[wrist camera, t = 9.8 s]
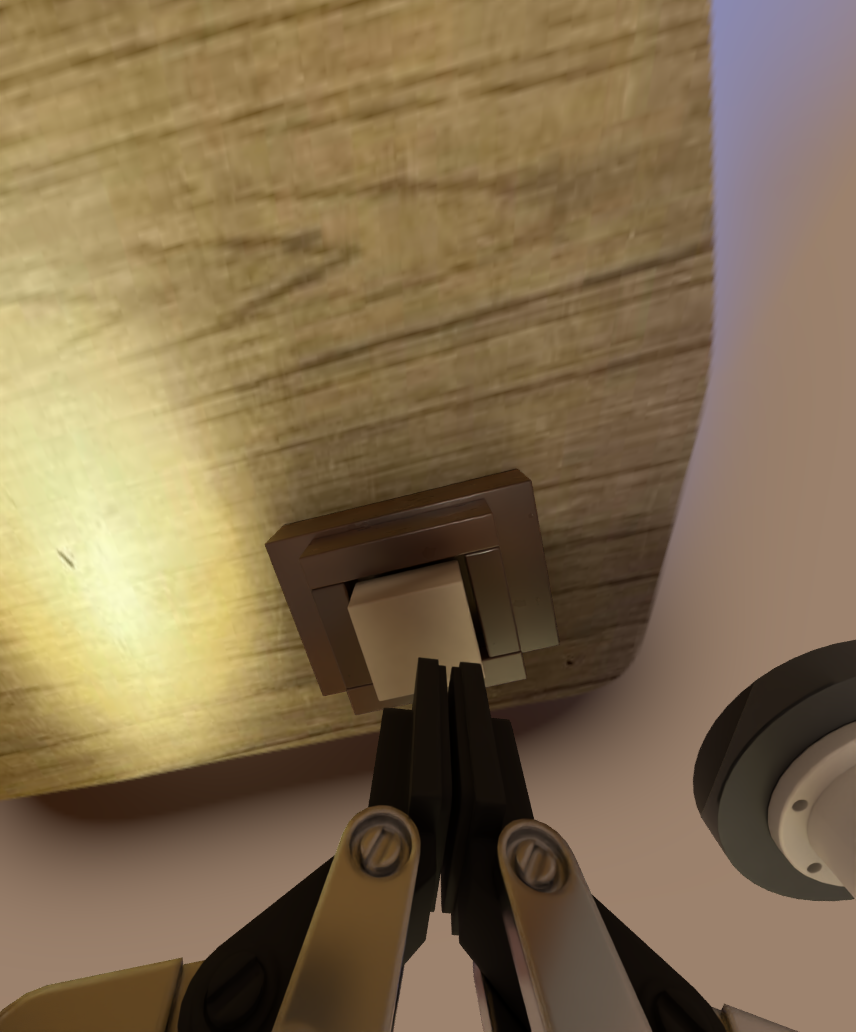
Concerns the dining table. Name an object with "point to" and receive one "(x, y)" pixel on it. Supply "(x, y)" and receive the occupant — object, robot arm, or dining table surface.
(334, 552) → the block
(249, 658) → the dining table surface
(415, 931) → the robot arm
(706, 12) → the dining table surface
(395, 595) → the key
